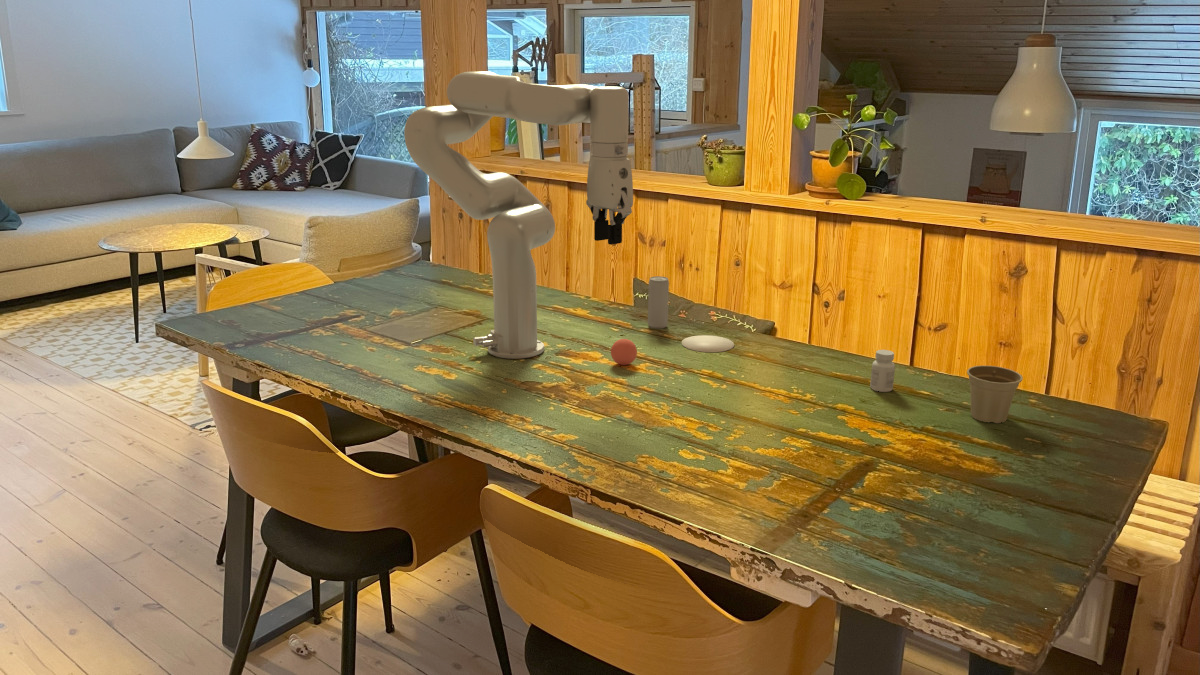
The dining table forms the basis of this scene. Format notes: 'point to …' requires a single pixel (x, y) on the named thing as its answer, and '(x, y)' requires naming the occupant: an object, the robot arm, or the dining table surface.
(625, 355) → the ball
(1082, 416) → the dining table surface
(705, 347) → the disc
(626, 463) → the dining table surface
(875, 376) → the pill bottle
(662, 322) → the beverage can
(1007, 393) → the flower pot
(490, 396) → the dining table surface
